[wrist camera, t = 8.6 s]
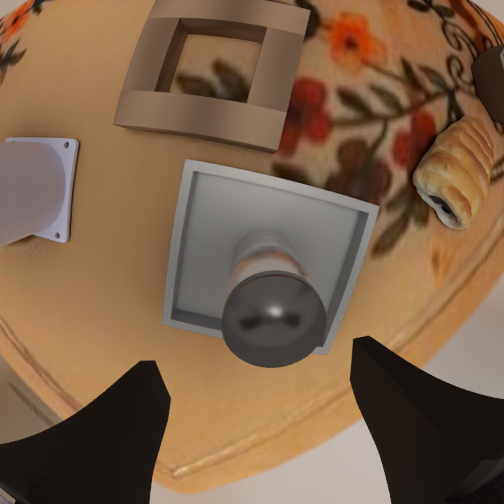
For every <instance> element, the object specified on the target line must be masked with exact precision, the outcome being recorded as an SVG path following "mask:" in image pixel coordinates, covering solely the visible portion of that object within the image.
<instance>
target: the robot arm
mask: <svg viewBox="0 0 504 504" xmlns="http://www.w3.org/2000/svg"><path fill="white" fill-rule="evenodd" d="M68 142H69V147H68V148H67V143H68ZM78 147H79V142H78V140H77V139H70V138H39V137H16V138H7V139H6V141H0V247H3V246H5V245H7V244H10V243H12V242H15V241H17V240H19V239H22V238H24V237H27V236H29V235H32V234H33V235H36V236H40V237H43V238H47V239H50V240H54V241H57V242H61V243H65V242H67V241H68V240H69V226H70V210H71V198H72V188H73V180H74V172H75V165H76V159H77V153H78ZM58 233H59V234H60V237H59V236H58ZM350 382H351V386H352V389H353V392H354V396H355V399H356V402H357V404H358V407H359V409H360V411H361V413H362V416H363V418H364V420H365V422H366V424H367V426H368V429H369V431H370V433H371V435H372V438H373V440H374V442H375V444H376V447H377V449H378V452H379V455H380V458H381V462H382V465H383V469H384V472H385V476H386V480H387V484H388V489H389V493H390V498H391V503H392V504H504V399H500V398H493V397H489V396H485V395H481V394H477V393H474V392H471V391H468V390H465V389H462V388H459V387H456V386H454V385H452V384H449V383H447V382H445V381H442V380H440V379H438V378H436V377H434V376H432V375H430V374H428V373H427V372H425V371H423V370H421V369H419V368H418V367H416V366H414V365H413V364H411V363H409V362H408V361H406V360H405V359H403V358H401V357H400V356H398V355H397V354H395V353H394V352H392V351H391V350H389V349H388V348H387V347H385V346H384V345H382V344H381V343H379V342H378V341H376V340H375V339H373V338H372V337H370V336H364V337H360V338H355V339H353V349H352V362H351V373H350ZM170 401H171V398H170V395H169V393H168V391H167V388H166V386H165V384H164V381H163V379H162V377H161V374H160V372H159V369H158V367H157V364H156V362H155V361H140V362H138V363H137V364H136V365H134V366H133V367H132V368H131V369H130V370H129V371H127V372H126V373H125V374H124V375H123V376H122V377H121V378H120V379H118V380H117V381H116V382H115V383H114V384H113V385H111V386H110V387H109V388H108V389H107V390H106V391H105V392H103V393H102V394H101V395H100V396H98V397H97V398H96V399H94V400H93V401H92V402H91V403H89V404H88V405H87V406H85V407H84V408H83V409H81V410H80V411H78V412H77V413H75V414H74V415H72V416H71V417H69V418H67V419H66V420H64V421H62V422H61V423H59V424H57V425H55V426H53V427H51V428H49V429H47V430H45V431H42V432H41V433H38V434H35V435H33V436H30V437H27V438H24V439H21V440H18V441H14V442H10V443H5V444H0V488H2V489H3V490H4V491H5V492H6V493H7V494H9V495H10V496H11V497H12V498H14V499H15V500H16V501H15V503H14V504H149V502H150V491H151V483H152V476H153V471H154V466H155V463H156V459H157V456H158V452H159V449H160V446H161V442H162V439H163V435H164V432H165V428H166V425H167V421H168V416H169V409H170ZM0 504H12V503H11V502H10V501H8V500H7V499H6V498H4V497H3V496H2V495H0Z"/></svg>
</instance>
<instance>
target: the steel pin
mask: <svg viewBox="0 0 504 504" xmlns="http://www.w3.org/2000/svg"><path fill="white" fill-rule="evenodd" d="M326 324H327V317H326V311H325V307H324V305H323V303H322V301H321V299H320V297H319V295H318V293H317V291H316V289H315V287H314V286H313V284H312V282H311V280H310V278H309V276H308V274H307V272H306V270H305V269H304V267H303V265H302V263H301V261H300V259H299V257H298V256H297V254H296V252H295V250H294V248H293V246H292V245H291V243H290V241H289V240H288V239H287V238H286V237H285V236H284V235H282V234H281V233H279V232H277V231H274V230H270V229H259V230H255V231H252V232H250V233H248V234H247V235H245V236H244V237H243V238H242V239H241V240H240V241H239V243H238V245H237V247H236V249H235V252H234V257H233V263H232V268H231V273H230V278H229V283H228V288H227V294H226V299H225V304H224V310H223V315H222V321H221V329H222V335H223V338H224V340H225V342H226V344H227V346H228V347H229V349H230V350H231V351H232V352H233V353H234V354H235V355H236V356H237V357H238V358H240V359H242V360H243V361H245V362H247V363H249V364H252V365H255V366H259V367H266V368H276V367H283V366H287V365H291V364H294V363H296V362H298V361H300V360H302V359H304V358H305V357H306V356H308V355H309V354H310V353H311V352H313V351H314V349H315V348H316V347H317V346H318V345H319V343H320V342H321V340H322V338H323V336H324V333H325V330H326Z"/></svg>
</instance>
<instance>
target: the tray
mask: <svg viewBox="0 0 504 504" xmlns="http://www.w3.org/2000/svg"><path fill="white" fill-rule="evenodd" d="M378 210H379V206H376V205H373V204H370V203H367V202H364V201H361V200H357V199H354V198H351V197H347V196H344V195H341V194H337V193H334V192H330V191H327V190H323V189H320V188H316V187H312V186H308V185H305V184H301V183H297V182H293V181H289V180H285V179H281V178H277V177H273V176H268V175H264V174H260V173H255V172H251V171H246V170H242V169H237V168H232V167H227V166H222V165H217V164H212V163H206V162H201V161H195V160H189V159H186V160H185V164H184V169H183V174H182V179H181V184H180V190H179V195H178V201H177V206H176V212H175V218H174V224H173V231H172V237H171V244H170V251H169V259H168V267H167V275H166V283H165V292H164V302H163V313H162V325H166V326H170V327H174V328H178V329H182V330H186V331H191V332H195V333H199V334H204V335H208V336H213V337H218V338H223V335H222V329H221V321H222V315H223V310H224V304H225V299H226V294H227V288H228V283H229V278H230V273H231V268H232V263H233V257H234V252H235V249H236V247H237V245H238V243H239V241H240V240H241V239H242V238H243V237H244V236H245V235H247V234H248V233H250V232H252V231H255V230H259V229H270V230H274V231H277V232H279V233H281V234H282V235H284V236H285V237H286V238H287V239H288V240H289V241H290V243H291V245H292V246H293V248H294V250H295V252H296V254H297V256H298V257H299V259H300V261H301V263H302V265H303V267H304V269H305V270H306V272H307V274H308V276H309V278H310V280H311V282H312V284H313V286H314V287H315V289H316V291H317V293H318V295H319V297H320V299H321V301H322V303H323V305H324V307H325V311H326V317H327V324H326V330H325V333H324V336H323V338H322V340H321V342H320V343H319V345H318V346H317V347H316V348H315V349H314V351H313V352H311V353H315V354H324V355H328V352H329V350H330V348H331V346H332V343H333V341H334V339H335V336H336V334H337V331H338V329H339V326H340V324H341V322H342V319H343V316H344V314H345V311H346V309H347V306H348V304H349V301H350V298H351V295H352V293H353V290H354V287H355V284H356V282H357V279H358V276H359V273H360V270H361V267H362V264H363V261H364V258H365V255H366V252H367V248H368V245H369V242H370V239H371V235H372V232H373V228H374V225H375V221H376V218H377V214H378ZM223 339H224V338H223Z"/></svg>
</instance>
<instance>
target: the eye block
mask: <svg viewBox="0 0 504 504" xmlns="http://www.w3.org/2000/svg"><path fill="white" fill-rule="evenodd" d="M309 14H310V10H306V9H302V8H298V7H294V6H290V5H285V4H281V3H276V2H270V1H265V0H156V1H155V3H154V5H153V7H152V10H151V12H150V14H149V16H148V19H147V21H146V23H145V26H144V28H143V30H142V33H141V35H140V38H139V40H138V43H137V46H136V48H135V51H134V54H133V57H132V60H131V62H130V65H129V68H128V71H127V75H126V78H125V81H124V84H123V88H122V91H121V95H120V98H119V102H118V106H117V110H116V114H115V118H114V122H113V125H116V126H120V127H123V128H127V129H131V130H142V131H151V132H159V133H167V134H175V135H182V136H188V137H195V138H201V139H207V140H213V141H218V142H223V143H229V144H234V145H239V146H244V147H248V148H253V149H258V150H262V151H266V152H271V153H275V152H276V151H278V147H279V143H280V139H281V135H282V130H283V126H284V122H285V117H286V113H287V109H288V105H289V100H290V96H291V92H292V87H293V83H294V79H295V75H296V70H297V66H298V62H299V57H300V53H301V49H302V44H303V40H304V36H305V31H306V27H307V23H308V19H309ZM187 34H202V35H213V36H222V37H230V38H238V39H244V40H250V41H256V42H261V43H263V44H262V48H261V52H260V55H259V59H258V62H257V66H256V70H255V74H254V77H253V81H252V85H251V89H250V93H249V97H248V101H247V104H245V103H240V102H234V101H229V100H223V99H216V98H210V97H203V96H195V95H187V94H177V93H169V89H170V86H171V82H172V79H173V76H174V72H175V69H176V66H177V63H178V60H179V57H180V54H181V51H182V48H183V45H184V42H185V39H186V37H187Z"/></svg>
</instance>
